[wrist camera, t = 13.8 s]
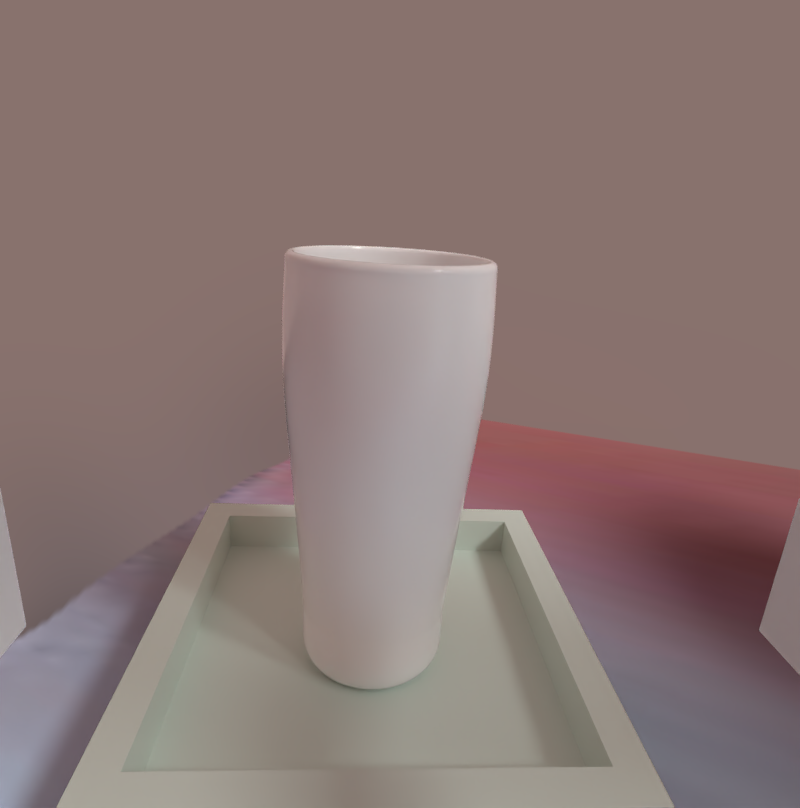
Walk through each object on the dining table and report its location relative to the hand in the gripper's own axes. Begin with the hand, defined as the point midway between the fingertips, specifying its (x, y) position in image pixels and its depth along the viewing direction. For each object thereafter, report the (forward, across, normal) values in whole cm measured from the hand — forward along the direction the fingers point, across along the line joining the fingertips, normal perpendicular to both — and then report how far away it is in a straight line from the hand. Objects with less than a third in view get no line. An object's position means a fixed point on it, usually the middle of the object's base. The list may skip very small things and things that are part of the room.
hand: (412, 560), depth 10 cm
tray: (+10, 0, -12) cm, 16 cm away
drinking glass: (+10, 0, -11) cm, 15 cm away
